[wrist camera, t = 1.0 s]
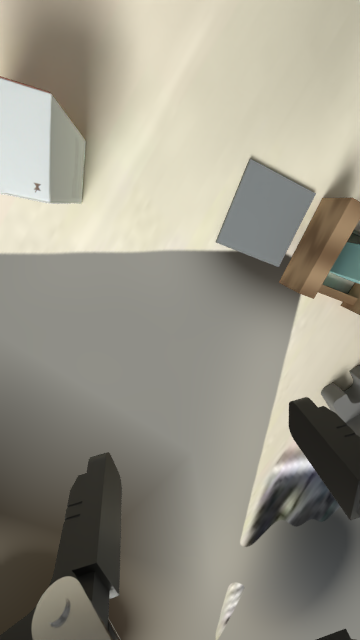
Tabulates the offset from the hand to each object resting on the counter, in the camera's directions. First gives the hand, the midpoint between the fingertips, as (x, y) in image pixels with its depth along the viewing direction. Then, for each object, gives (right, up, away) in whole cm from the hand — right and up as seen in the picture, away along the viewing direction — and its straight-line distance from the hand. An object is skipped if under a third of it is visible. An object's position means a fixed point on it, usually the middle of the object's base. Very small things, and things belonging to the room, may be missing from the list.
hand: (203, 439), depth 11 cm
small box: (-15, +22, +16) cm, 31 cm away
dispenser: (+23, +14, +27) cm, 38 cm away
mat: (+10, +19, +22) cm, 31 cm away
